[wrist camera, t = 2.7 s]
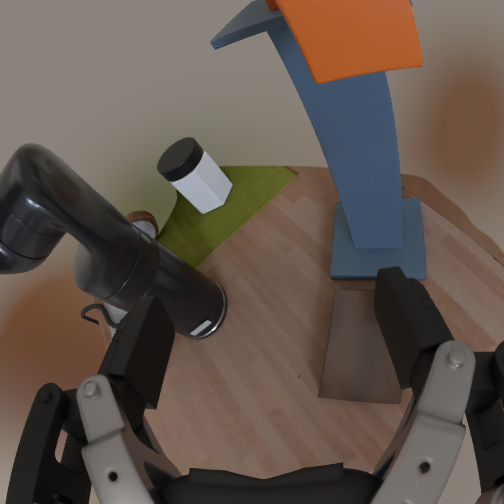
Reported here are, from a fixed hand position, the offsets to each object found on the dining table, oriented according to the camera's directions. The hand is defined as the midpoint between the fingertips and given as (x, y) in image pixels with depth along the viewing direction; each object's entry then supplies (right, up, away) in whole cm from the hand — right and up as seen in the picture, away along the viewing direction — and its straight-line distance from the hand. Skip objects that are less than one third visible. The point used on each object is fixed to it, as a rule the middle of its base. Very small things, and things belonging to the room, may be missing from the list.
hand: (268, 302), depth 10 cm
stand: (+16, +3, +24) cm, 29 cm away
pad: (+13, -9, +19) cm, 24 cm away
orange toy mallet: (+2, +12, -2) cm, 13 cm away
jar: (-8, +13, +43) cm, 46 cm away
